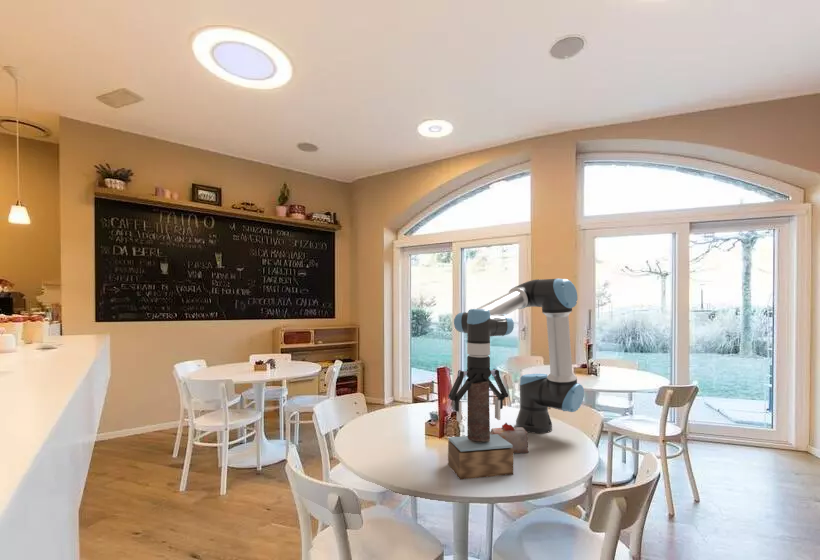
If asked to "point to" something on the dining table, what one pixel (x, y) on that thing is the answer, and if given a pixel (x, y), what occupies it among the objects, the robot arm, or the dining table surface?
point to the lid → (480, 443)
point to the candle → (478, 412)
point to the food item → (513, 437)
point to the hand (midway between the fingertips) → (478, 420)
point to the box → (480, 462)
